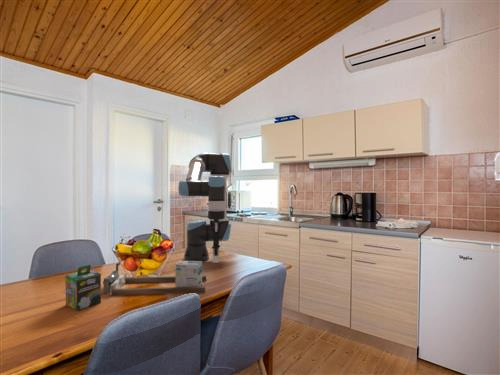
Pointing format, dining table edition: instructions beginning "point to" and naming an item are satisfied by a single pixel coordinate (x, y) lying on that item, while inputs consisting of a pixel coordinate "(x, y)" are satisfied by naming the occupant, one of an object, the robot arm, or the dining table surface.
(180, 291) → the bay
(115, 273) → the winch
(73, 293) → the chalk box
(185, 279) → the light bulb box
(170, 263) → the dining table surface
